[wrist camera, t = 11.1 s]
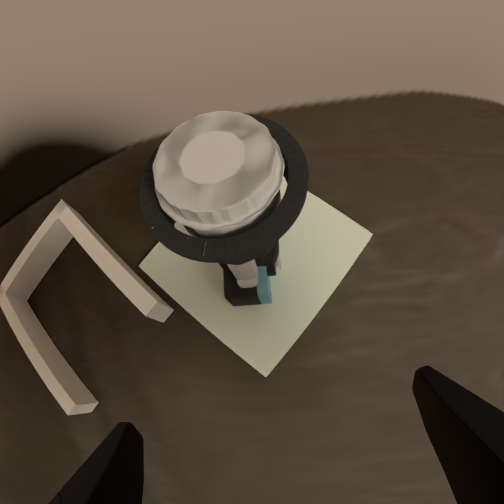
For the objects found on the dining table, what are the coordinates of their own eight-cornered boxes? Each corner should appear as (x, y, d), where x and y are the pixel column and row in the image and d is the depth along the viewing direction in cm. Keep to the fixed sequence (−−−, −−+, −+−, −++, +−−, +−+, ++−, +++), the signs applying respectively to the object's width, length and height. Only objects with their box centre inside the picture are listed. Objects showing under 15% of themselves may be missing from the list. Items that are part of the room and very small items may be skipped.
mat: (266, 376, 16) (265, 377, 16) (141, 268, 19) (138, 266, 19) (371, 237, 18) (373, 234, 18) (243, 156, 21) (242, 151, 21)
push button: (207, 206, 19) (144, 86, 10) (293, 197, 19) (289, 61, 10) (208, 314, 17) (114, 255, 8) (306, 307, 17) (324, 234, 7)
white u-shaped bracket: (91, 412, 16) (68, 415, 14) (16, 301, 20) (-6, 294, 17) (174, 310, 18) (157, 301, 16) (80, 214, 21) (61, 199, 19)
